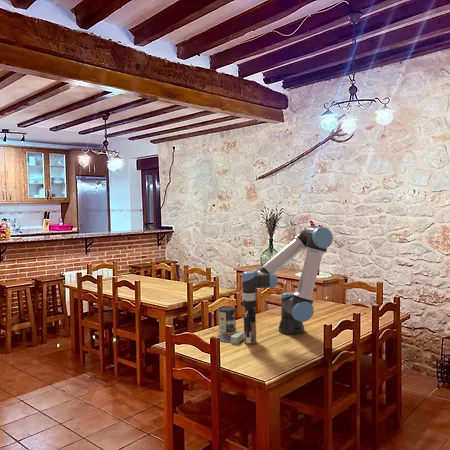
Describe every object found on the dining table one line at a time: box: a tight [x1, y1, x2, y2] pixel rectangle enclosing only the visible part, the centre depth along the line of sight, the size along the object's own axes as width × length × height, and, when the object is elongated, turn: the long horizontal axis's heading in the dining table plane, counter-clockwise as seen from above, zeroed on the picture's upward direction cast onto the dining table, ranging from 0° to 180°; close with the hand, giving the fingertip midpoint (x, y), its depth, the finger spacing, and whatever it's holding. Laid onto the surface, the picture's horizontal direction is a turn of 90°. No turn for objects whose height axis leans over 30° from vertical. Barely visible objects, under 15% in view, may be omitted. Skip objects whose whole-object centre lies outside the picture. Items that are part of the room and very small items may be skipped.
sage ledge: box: [230, 331, 245, 345], centre depth 244 cm, size 4×10×4 cm, turn 157°
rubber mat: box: [216, 334, 232, 344], centre depth 247 cm, size 11×10×1 cm
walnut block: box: [243, 322, 257, 345], centre depth 240 cm, size 5×5×11 cm
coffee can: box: [218, 305, 237, 335], centre depth 261 cm, size 10×10×14 cm
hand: (250, 341), depth 240 cm, fingers closed on walnut block, 5 cm apart
